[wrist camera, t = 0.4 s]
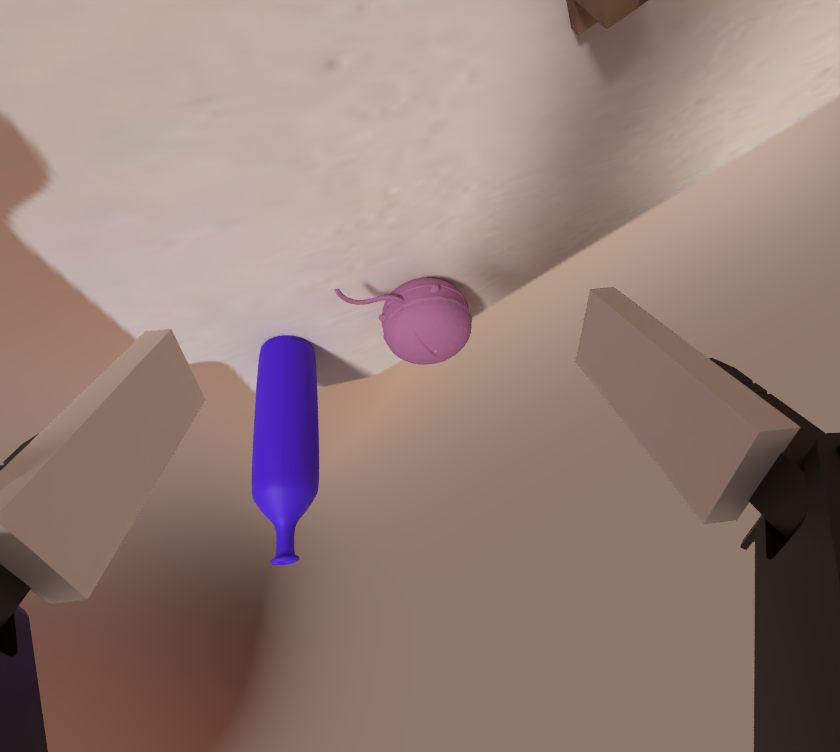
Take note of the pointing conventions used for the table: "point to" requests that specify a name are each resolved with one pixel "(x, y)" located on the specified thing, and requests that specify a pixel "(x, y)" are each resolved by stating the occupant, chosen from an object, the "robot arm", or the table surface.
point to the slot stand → (599, 12)
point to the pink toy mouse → (423, 320)
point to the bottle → (285, 438)
